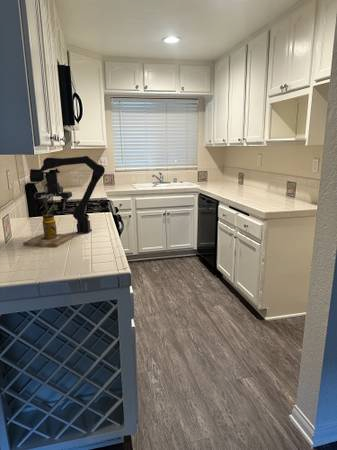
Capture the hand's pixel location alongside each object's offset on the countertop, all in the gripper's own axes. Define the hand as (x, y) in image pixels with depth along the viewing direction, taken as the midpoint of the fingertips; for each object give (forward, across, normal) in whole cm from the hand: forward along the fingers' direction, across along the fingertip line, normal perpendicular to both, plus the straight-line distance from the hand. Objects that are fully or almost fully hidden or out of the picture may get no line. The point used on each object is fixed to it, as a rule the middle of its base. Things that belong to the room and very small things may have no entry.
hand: (55, 210), depth 168 cm
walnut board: (+13, -2, +15) cm, 20 cm away
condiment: (+11, -2, +15) cm, 19 cm away
